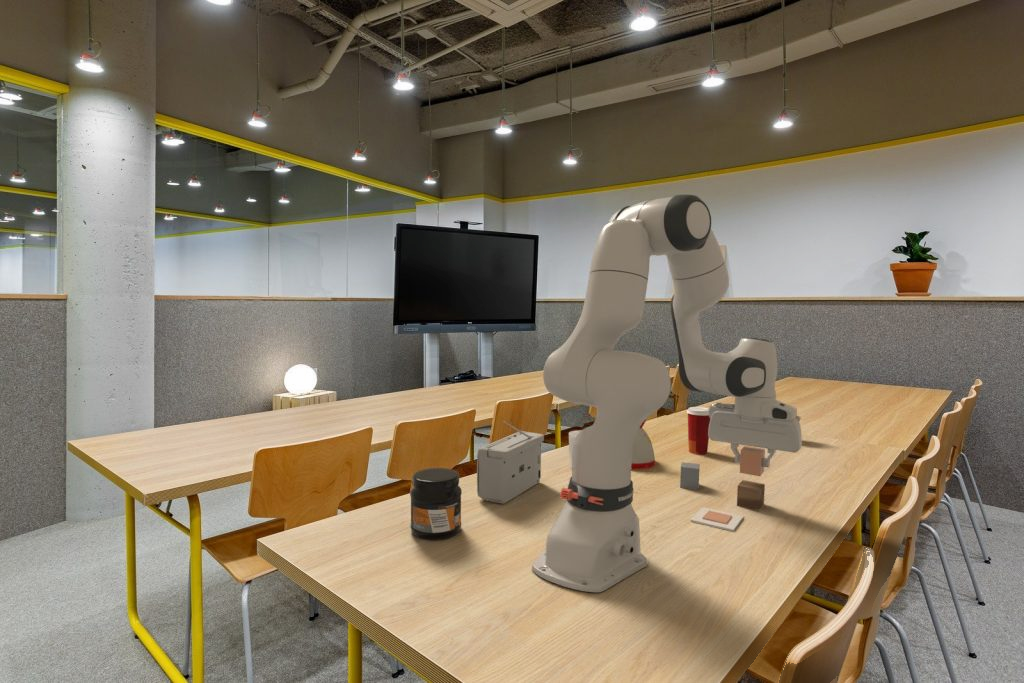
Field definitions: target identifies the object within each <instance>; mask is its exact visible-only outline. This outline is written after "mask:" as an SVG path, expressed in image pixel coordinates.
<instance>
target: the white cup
mask: <svg viewBox="0 0 1024 683" xmlns="http://www.w3.org/2000/svg"><path fill="white" fill-rule="evenodd" d="M582 430H583V429H579V430H571V431H569V432H568V452H569V454H568V455H569V467H570V469H571V470H572V449H573V441H574V438H575V437H576V435H577V434H578V433H579V432H580V431H582Z"/></svg>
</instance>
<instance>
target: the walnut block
mask: <svg viewBox="0 0 1024 683" xmlns="http://www.w3.org/2000/svg"><path fill="white" fill-rule="evenodd" d="M765 487H766V483H762V482H756V481H749V480H745V479H742V480H741V481H740V482H739V483H738V485H737V488H736V489H737V492H736V493H737V494H736V507H741V508H746V509H751V510H755V511H758V512H759V511H760V510H761V509H762V508H763V506H764V505H765V491H766V488H765Z"/></svg>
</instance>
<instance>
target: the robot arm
mask: <svg viewBox="0 0 1024 683" xmlns="http://www.w3.org/2000/svg"><path fill="white" fill-rule="evenodd" d="M716 237H717V236H715V234H714V231H713V230H712V216H711V211H710V209H709V207H708V205H707V204H706V203H705V202H704V201H703V200H702V199H701V198H700V197H699V196H697V195H694V194H676V195H674V196H671V197H670V196H669V197H661V198H657V199H656V198H654V199H652V198H651V199H648V200H645V201H641V202H639V203H635V204H633V205H628V206H627V205H626V206H625V207H622V208H621V209H619V210H617V211H615V213H614V214H612V216H611V217H610V218H609V221H608V223H607V224H605V225H604V226H603V227H602V229H601V230H600V233H599V235H598V238H597V240H596V244H595V247H594V250H593V254H592V259H591V262H590V269H589V275H588V280H587V286H586V293H585V298H584V302H583V307H582V311H581V314H580V317H579V319H578V322H577V324H576V326H575V327H574V329H573V331H572V332H571V334H570V336H569V337H568V339H566V341H565V342H564V343H563V344H562V345H561V346H560V347H559V348H557V349H556V350H554V351H552V352H551V354H549V356H548V357H547V359H546V360H545V363H544V366H543V373H542V376H543V377H542V378H543V383H544V386H545V389H546V390H547V391H548V393H549V394H551V395H552V396H553V397H556V398H558V399H560V400H563V401H565V402H568V403H570V404H575V405H576V404H577V405H580V406H581V405H583V406H588V407H592V408H596V416H595V419H594V422H593V424H592V425H589V426H587V427H585V428H583V429H581V430H582V431H580V432H579V433H578V434H577V435H576V437H575V438H574V441H573V449H572V469H571V477H569V481H568V485H567V488H566V487H562V488H561V489H560V493H559V496H560V499H561V500H566V502H565V504H564V506H563V507H562V508H561V511H560V512H559V514H558V515H557V518H556V519H555V522H553V525H552V526H551V528H550V530H549V532H548V534H547V537H546V543H545V549H543V550H542V552H540V554H539V556H538V557H537V558H535V560H534V561H533V563H532V564H531V570H532V571H533V573H534V574H535V575H537V576H539V577H541V578H542V579H544V580H546V581H548V582H551V583H554V584H556V585H559V586H562V587H565V588H567V589H572V590H576V591H581V592H587V593H588V592H589V593H601V592H604V591H605V590H608V589H609V588H611V587H613V586H615V585H616V584H618V583H619V582H621V581H623V580H624V579H626V578H628V577H630V576H631V575H633V574H636V573H637V572H638V571H640V570H642V569H643V568H645V567H646V566H648V559H647V557H646V556H645V555H644V554H642V553H641V536H640V535H641V534H640V518H639V516H638V515H637V514H636V511H635V510H634V507H633V505H632V502H633V501H634V500H633V499H634V482H633V481H632V469H631V463H632V452H633V444H634V440H635V437H636V434H637V432H638V430H639V428H640V426H641V425H642V423H643V422H644V421H645V419H646V420H647V419H648V417H650V416H651V415H653V414H654V413H655V412H657V411H659V410H660V409H661V408H662V407H663V406H664V405H665V403H666V402H667V400H668V398H669V396H670V392H671V388H672V387H671V386H672V381H671V376H670V372H669V370H668V367H667V366H666V364H665V362H664V361H662V360H661V359H659V358H656V357H653V356H650V355H647V354H645V353H644V354H643V353H640V352H636V351H626V350H614V349H615V346H616V344H617V342H618V341H619V339H620V338H621V337H622V336H623V335H624V334H626V333H627V332H630V331H631V330H633V329H635V328H636V327H637V326H638V325H640V322H641V321H642V319H643V317H644V316H643V315H644V309H645V305H646V303H645V302H646V297H647V296H646V295H647V291H648V290H647V289H648V283H649V276H650V275H649V274H650V258H651V256H656V257H657V256H658V257H659V256H666V259H667V265H668V268H669V272H670V276H671V279H672V282H673V283H672V284H673V287H674V292H673V295H672V297H671V299H670V313H671V319H672V320H671V321H672V325H673V332H674V338H675V343H676V349H677V354H678V375H679V378H680V382H681V383H682V384H683V386H684V387H685V388H686V389H688V390H689V391H691V392H698V393H700V392H701V393H709V394H715V395H720V396H727V397H732V398H733V397H734V403H722V402H715V403H713V404H711V405H710V406H709V417H710V424H709V431H708V436H709V440H711V441H712V442H713V441H714V442H720V443H726V444H727V443H728V444H730V450H731V451H732V452H733V454H734V455H735V456H734V462H735V463H738V464H740V454H741V452H739V449H738V447H739V446H740V445H741V446H742V445H743V446H750V447H756V448H763V449H767V454H768V456H767V457H765V458H763V459H762V467H764V468H770V465H771V459H772V458H773V456H774V455H775V454H776V451H781V452H788V453H798V452H799V451H800V450H801V449H802V444H803V443H802V442H803V438H802V428H801V424H800V421H798V420H797V419H796V418H795V417H796V415H798V410H797V408H796V407H795V406H793V405H790V404H787V403H785V402H782V401H780V400H777V393H776V389H775V388H776V386H775V385H776V384H775V383H776V380H777V378H778V377H777V376H778V356H777V349H776V346H775V343H773V341H771V340H768V339H765V338H764V339H763V338H757V337H742V338H740V340H739V343H738V346H736V347H735V348H734V349H732V350H730V351H728V352H718V351H717V352H716V351H711V350H709V349H707V348H706V347H705V345H704V343H703V338H702V332H701V325H700V313H701V312H705V311H706V310H708V309H709V308H711V307H713V306H714V305H717V303H718V302H720V301H721V300H723V298H724V296H725V295H726V293H727V291H728V288H729V286H730V283H729V281H730V279H729V272H728V268H727V265H726V262H725V258H724V256H723V253H722V250H721V246H720V244H719V242H718V240H717V238H716ZM645 422H646V421H645Z"/></svg>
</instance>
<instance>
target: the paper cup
mask: <svg viewBox="0 0 1024 683" xmlns="http://www.w3.org/2000/svg"><path fill="white" fill-rule="evenodd" d="M709 408H710V407H709ZM709 408H708V407H704V406H703V407H702V406H691V407H688V408H687V411H686V413H687V435H688V436H687V438H688V442H687V443H688V444H687V445H688V452H689V453H691V454H693V455H698V456H699V455H706V454H708V449H709V440H710V438H709V436H708V431H709V424H710V417H709Z"/></svg>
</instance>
